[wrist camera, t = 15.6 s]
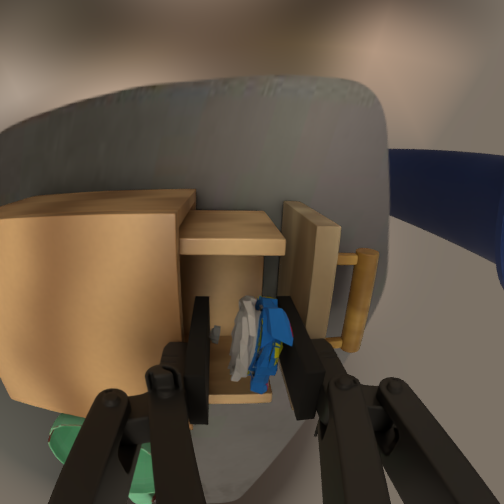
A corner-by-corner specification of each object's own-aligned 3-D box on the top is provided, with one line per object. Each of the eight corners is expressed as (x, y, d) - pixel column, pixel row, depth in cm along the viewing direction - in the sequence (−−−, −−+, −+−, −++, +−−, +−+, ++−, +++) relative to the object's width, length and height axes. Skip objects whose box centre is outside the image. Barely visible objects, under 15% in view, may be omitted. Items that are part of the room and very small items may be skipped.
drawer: (354, 204, 21) (413, 229, 14) (334, 338, 25) (369, 399, 17) (121, 200, 20) (70, 224, 12) (135, 340, 23) (110, 406, 16)
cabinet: (196, 188, 21) (175, 213, 12) (199, 342, 24) (193, 430, 15) (35, 195, 19) (-45, 222, 10) (58, 332, 23) (11, 399, 14)
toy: (261, 354, 18) (271, 413, 13) (205, 346, 17) (198, 405, 13) (282, 280, 16) (301, 329, 12) (218, 269, 16) (213, 316, 11)
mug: (70, 342, 24) (25, 415, 14) (168, 341, 24) (147, 431, 15) (118, 440, 28) (102, 507, 19) (198, 442, 29) (196, 516, 19)
